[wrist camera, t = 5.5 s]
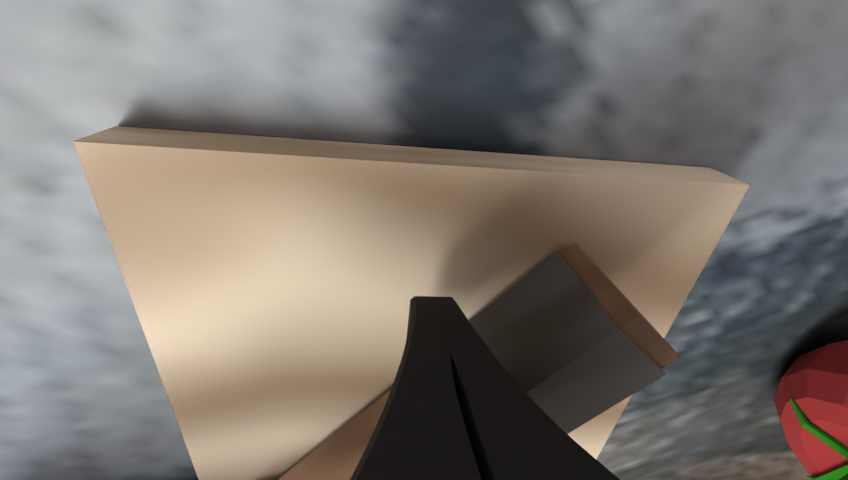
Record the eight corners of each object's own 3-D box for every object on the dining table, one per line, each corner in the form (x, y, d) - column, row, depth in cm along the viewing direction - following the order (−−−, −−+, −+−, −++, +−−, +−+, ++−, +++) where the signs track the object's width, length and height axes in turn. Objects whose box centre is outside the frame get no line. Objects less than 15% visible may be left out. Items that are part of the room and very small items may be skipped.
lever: (289, 525, 17) (269, 627, 14) (223, 506, 15) (187, 614, 13) (619, 288, 11) (697, 375, 9) (562, 229, 10) (631, 306, 7)
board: (555, 481, 20) (601, 603, 16) (230, 497, 18) (182, 642, 14) (709, 167, 12) (903, 249, 7) (116, 126, 9) (-114, 208, 5)
